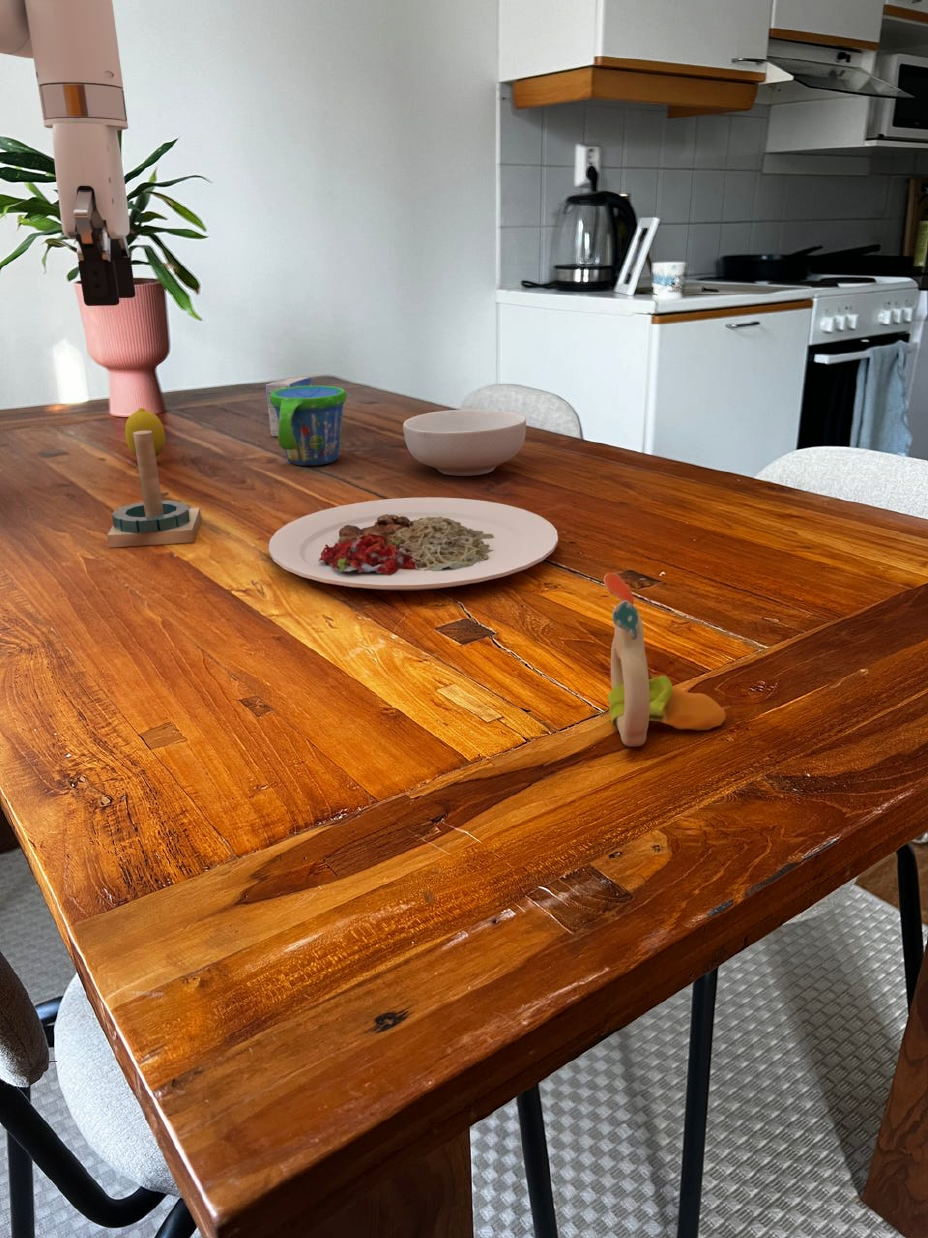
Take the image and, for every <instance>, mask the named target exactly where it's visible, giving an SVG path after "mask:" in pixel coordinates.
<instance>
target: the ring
mask: <svg viewBox="0 0 928 1238" xmlns="http://www.w3.org/2000/svg"><path fill="white" fill-rule="evenodd" d="M162 505H163V512H164V515H161V516H155V517H145V510H144V503H143V501H140V502H136V503H130V504H127V505H124V506H121V507H119V508H116V509H115V510H113V512H112V514H111V518H112V524H113V525H114V527H115V528H116V529H118V530H120V531H123V532H131V533H138V532H140V533H151V532H158V530H159V531H165V530H170V529H175V528H177V527H181V526H183V525H185V524H187V523H189V522H190V519H191V513H190V508H191V506H190V505H189V504H188V503H185V502H184V501H180V500H169V499H166V500H163V499H162ZM113 525H112V526H113Z"/></svg>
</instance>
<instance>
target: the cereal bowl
mask: <svg viewBox="0 0 928 1238" xmlns="http://www.w3.org/2000/svg"><path fill="white" fill-rule="evenodd" d="M402 429H403V434H404V435H403V437H404V442H405V446H406V448H407V450H408V452H409V453H410V455H411V456H412V457H413V458H414V459H415V460H416V461H418V462H419V463H420V464H423V465H426V467H431V468H433V469H436V470H437V471H438V472H439V473H441V474H443V475H448V476H454V477H455V476H456V477H467V476H468V477H471V476H480V475H485V474H488V473H491V472H494V470H496V467H498V466H500V465H502V464H504V463H506V462H508V461H510V460H512V459H513V458H514V457H515V456H517V455H518V453H519V452H520V451H521V449H522V448H523V446H524V443H525V439H526V433H527V419H526V417H525V416H523V414H520V413H517V412H512V411H506V410H496V409H452V410H451V409H450V410H442V411H441V410H440V411H433V412H427V413H422V414H419V415H416V416H415V415H414V416H412V417H409V418H408V419H406V420H405V421H404V422H403V424H402Z"/></svg>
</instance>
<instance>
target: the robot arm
mask: <svg viewBox="0 0 928 1238" xmlns="http://www.w3.org/2000/svg"><path fill="white" fill-rule="evenodd" d="M116 27H117V26H116V20H115V12H114V3H113V0H0V54H4V55H8V56H13V57H18V58H24V59H33V62H34V69H35V77H36V82H37V87H38V95H39V101H40V107H41V113H42V119H43V126H44V128H46V129H52V148H53V160H54V161H53V162H54V171H55V180H56V181H55V182H56V189H57V195H58V205H59V214H60V223H61V230H62V234H63V235H64V236H65V237H66V238H67V239H68V240H73V241H74V240H76V256H77V260H78V261H77V266H78V271H79V279H80V284H81V291H82V298H83V303H84V305H85V306H87V307H109V306H111V307H112V306H118V305H119V304H120V301H121V300H120V299H133V298H135V297H136V295H137V294H136V286H135V279H134V272H133V271H134V270H133V265H132V257H131V256H130V249H129V245H128V241H127V236H128V235H129V234H130V231H131V230H130V229H131V228H130V226H131V225H130V215H129V214H130V213H129V206H128V197H127V189H126V182H125V175H124V169H123V168H124V167H123V162H122V161H123V160H122V152H121V148H120V147H121V146H120V142H119V136H118V131H125V130H128V129H129V122H128V113H127V106H126V100H125V99H126V98H125V91H124V83H123V74H122V67H121V66H122V65H121V58H120V51H119V43H118V37H117V28H116Z"/></svg>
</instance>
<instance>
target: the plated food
mask: <svg viewBox="0 0 928 1238" xmlns="http://www.w3.org/2000/svg"><path fill="white" fill-rule="evenodd" d="M558 537H559V536H558V530H557V529H556V528H555V527H554V525H553V524H552V523H551V522H550V521H548V520H547V519H545V518H544V517H542V516H541V515H539V514H536V513H534V512H531V511H529V510H527V509H523V508H520V507H517V506H516V507H515V506H512V505H508V504H503V503H498V502H493V501H487V500H479V499H470V498H458V497H439V496H438V497H437V496H436V497H401V498H386V499H377V500H368V501H362V502H361V501H360V502H355V503H349V504H343V505H338V506H335V507H331V508H326V509H321V510H318V511H316V512H313V513H310V514H306V515H304V516H301V517H299V518H297V519H295V520H292V521H290V522H288V523H286V524H285V525H283V526H282V527H280V528H279V529H278V530H276V532H274V533H273V535H272V536H271V538H270V539H269V544H268V553H269V555H270V556H271V559H272V561H273V562H275V564H277V565H278V566H280V567H281V568H282V569H284V570H286V571H287V572H290V573H293V574H295V575H296V576H299V577H301V578H306V579H310V580H314V581H317V582H320V583H324V584H331V585H338V586H344V587H350V588H361V589H367V590H368V589H369V590H380V591H381V590H382V591H425V590H438V589H445V588H446V589H447V588H452V587H460V586H465V585H469V584H477V583H481V582H485V581H489V580H493V579H498V578H502V577H503V578H504V577H506V576H509V575H512V574H514V573H518V572H521V571H523V570H527V569H528V568H530V567H533V566H535V565H537V564H538V563H541V562H543V561H544V560H546V558H547V557H549V556H550V555H551V554H552V553H554V552H555V549H556V548H557V545H558V544H559V538H558Z"/></svg>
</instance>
